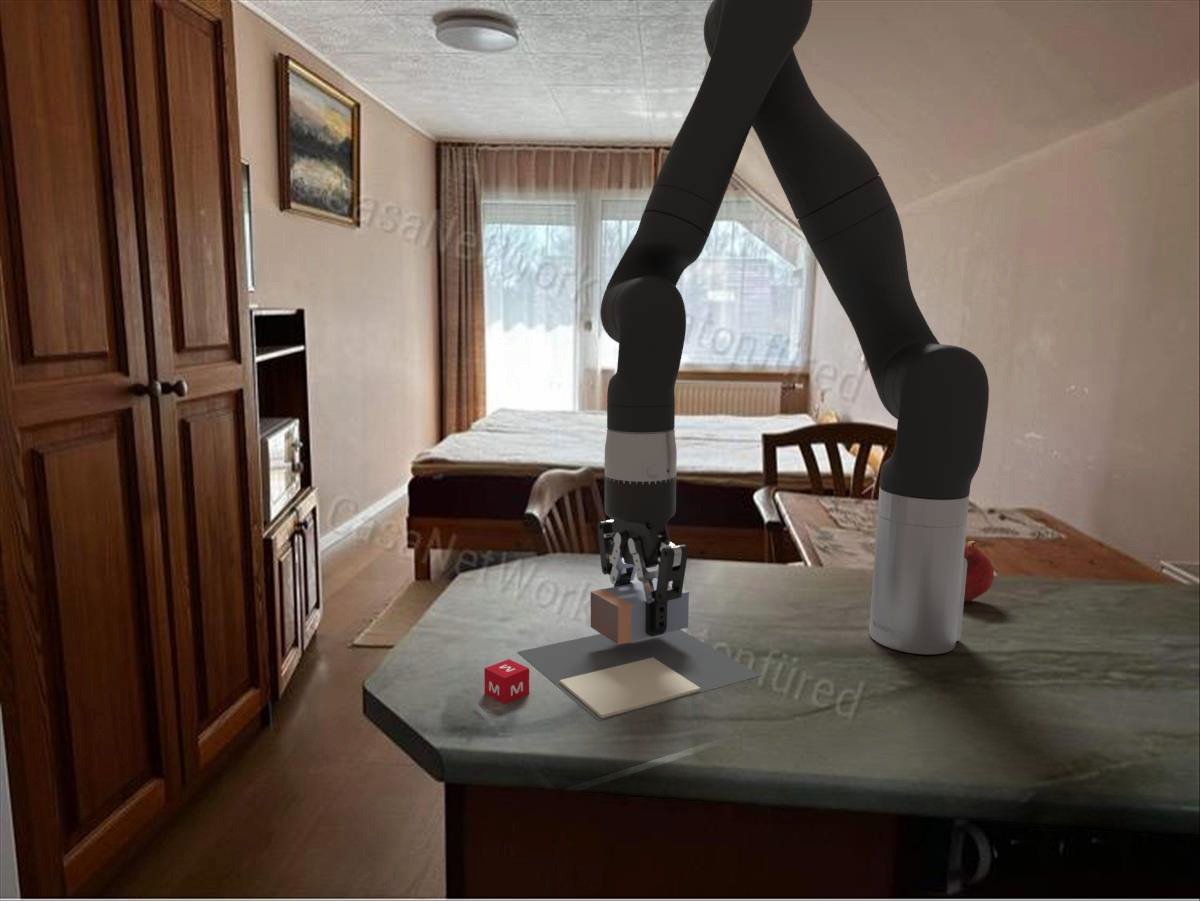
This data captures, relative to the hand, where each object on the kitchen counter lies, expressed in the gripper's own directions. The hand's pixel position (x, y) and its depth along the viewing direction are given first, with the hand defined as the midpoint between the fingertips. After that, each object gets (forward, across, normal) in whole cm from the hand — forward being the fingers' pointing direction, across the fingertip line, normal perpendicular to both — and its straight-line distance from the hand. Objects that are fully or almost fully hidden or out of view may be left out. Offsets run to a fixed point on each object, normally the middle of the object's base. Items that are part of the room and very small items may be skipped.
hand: (639, 624), depth 87 cm
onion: (+4, -8, -46) cm, 46 cm away
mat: (+3, -4, +3) cm, 5 cm away
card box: (0, 0, 0) cm, 0 cm away
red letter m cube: (+3, -3, +17) cm, 18 cm away
